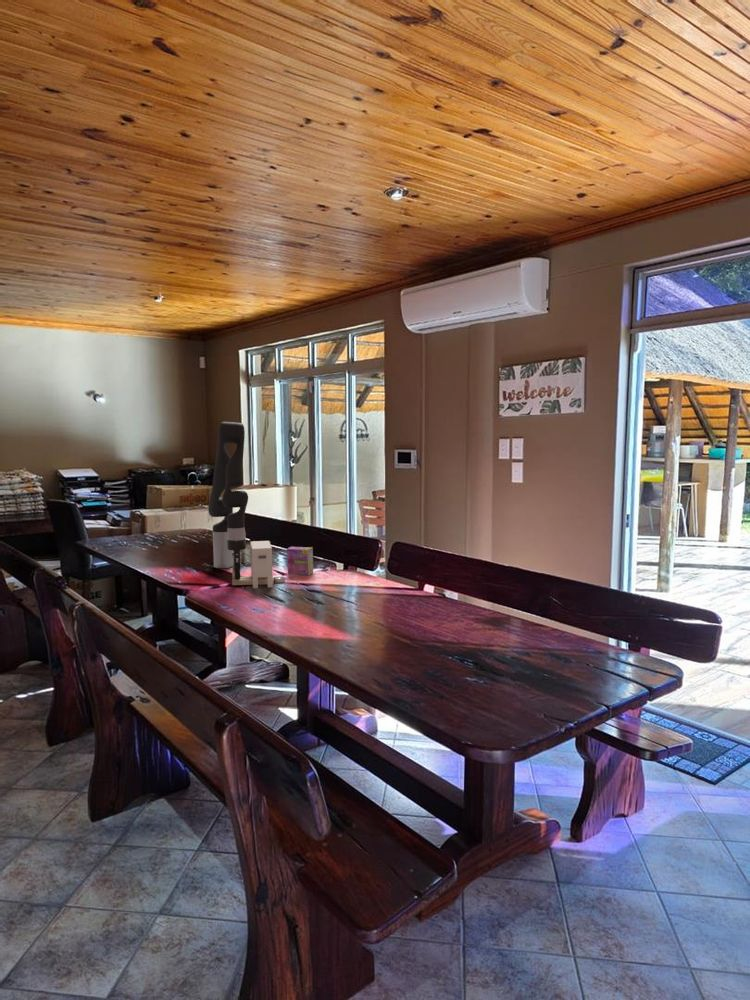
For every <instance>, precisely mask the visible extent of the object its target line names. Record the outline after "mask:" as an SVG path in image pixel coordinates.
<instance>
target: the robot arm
mask: <svg viewBox="0 0 750 1000" xmlns="http://www.w3.org/2000/svg"><path fill="white" fill-rule="evenodd" d="M217 430H218V431H217V444H216V456H215V463H214V467H213V474H212V475H213V477H212V486H211V487H212V488H211V492H210V496H209V501H208V509H207V510H208V514H209V516H210V517H211V518H223V517H224V518H223V519H222V520H221V521H219V522H217V523H215V524H213V525H212V547H213V550H212V551H213V568H216V569H229V568H232V564H233V565H234V571H235V579H236V580H238V579H240V577H241V570H242V569H241V565H242V556H243V555H242V553H243V552H241V551H243V550H246V548H247V546H246V544H247V543H246V529H245V528H246V527H245V523H246V522H245V517H246V516H245V515H246V510H247V506H248V501H249V494H248V492H247V491H245V490H234V489H238V488H240V487H242V486H243V485H244V476H243V475H244V474H243V473H244V472H243V463H244V452H245V451H244V450H245V437H246V435H245V425H244V424H243V423H241V422H237V421H236V422H235V421H234V422H232V421H221V422H220V423H219V425H218V429H217ZM226 444H235V445H236V448H235V450H234V453H232V454H233V455H232V456H231V455H230V454H229V452H228V450H227V447H226ZM222 493H223V494H222ZM221 495H222V497H221ZM234 508H239V509H238V510H237V511H235V512H234ZM235 566H239V567H235Z"/></svg>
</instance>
